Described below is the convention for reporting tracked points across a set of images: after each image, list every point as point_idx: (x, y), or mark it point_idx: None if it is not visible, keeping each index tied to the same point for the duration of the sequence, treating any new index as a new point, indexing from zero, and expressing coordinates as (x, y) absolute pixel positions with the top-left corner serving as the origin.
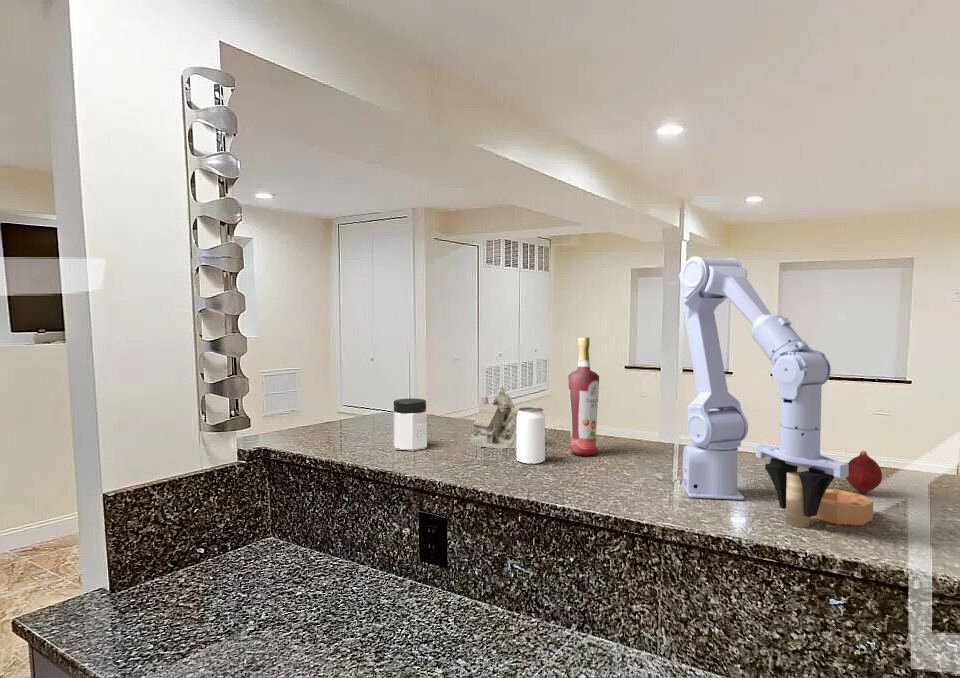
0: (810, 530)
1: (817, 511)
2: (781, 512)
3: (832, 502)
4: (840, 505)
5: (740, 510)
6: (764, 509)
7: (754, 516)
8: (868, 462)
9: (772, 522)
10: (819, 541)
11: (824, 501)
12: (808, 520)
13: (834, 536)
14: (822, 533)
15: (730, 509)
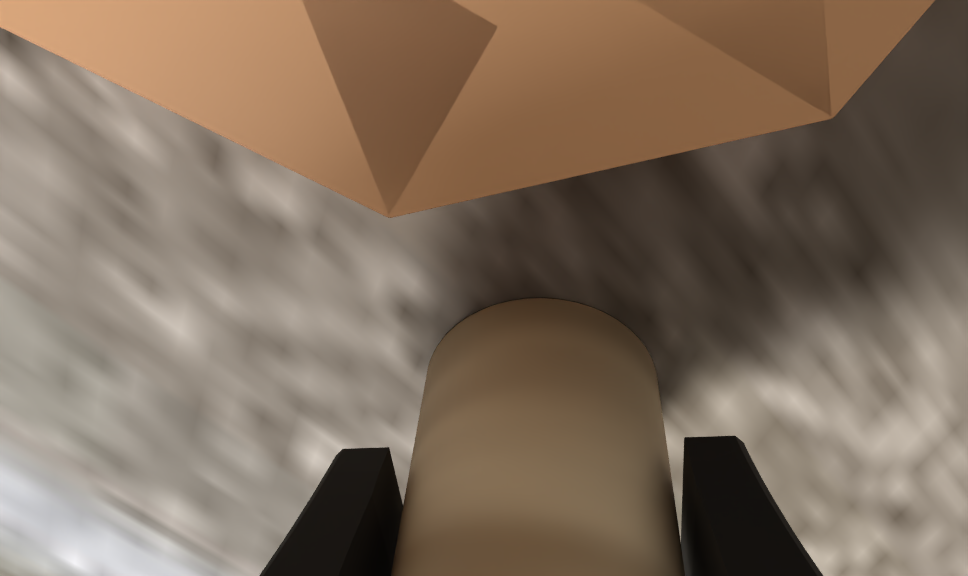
0: (723, 420)
1: (759, 475)
2: (166, 256)
3: (671, 33)
4: (870, 57)
5: (57, 522)
6: (42, 335)
7: (235, 534)
8: None
9: None
10: (930, 545)
11: (561, 123)
12: (664, 431)
13: (961, 365)
14: (839, 393)
15: (23, 563)
